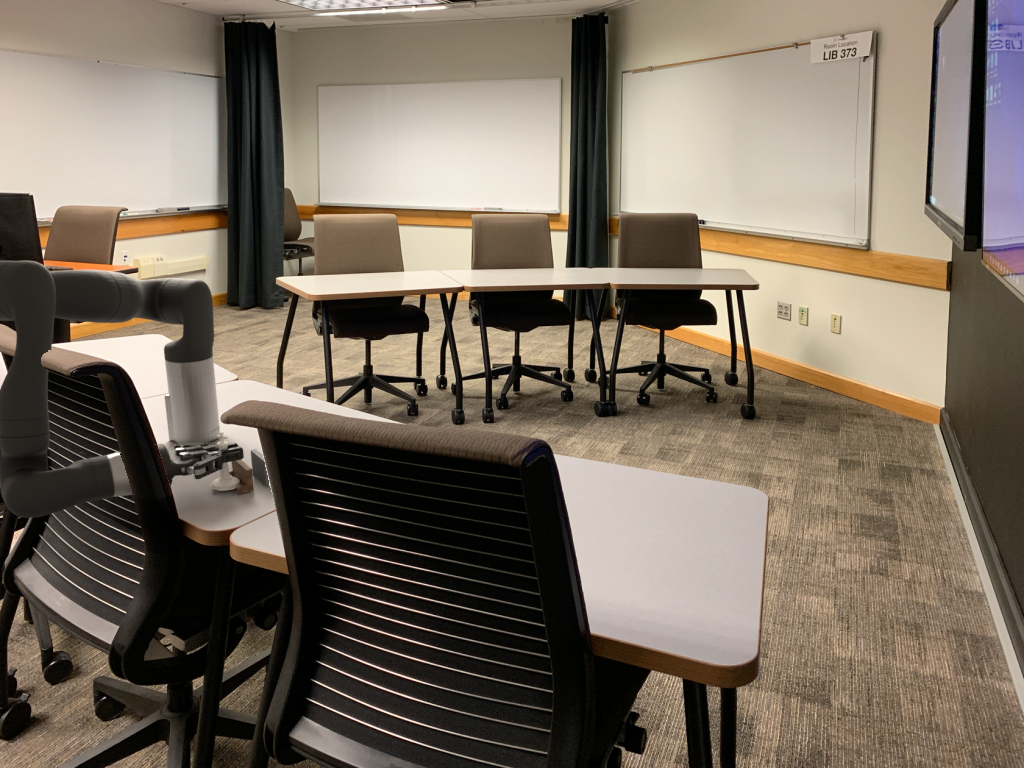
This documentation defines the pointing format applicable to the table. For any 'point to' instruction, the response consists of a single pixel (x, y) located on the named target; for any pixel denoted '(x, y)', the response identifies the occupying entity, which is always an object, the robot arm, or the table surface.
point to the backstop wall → (259, 467)
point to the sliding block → (242, 476)
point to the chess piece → (224, 471)
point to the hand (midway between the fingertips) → (239, 450)
